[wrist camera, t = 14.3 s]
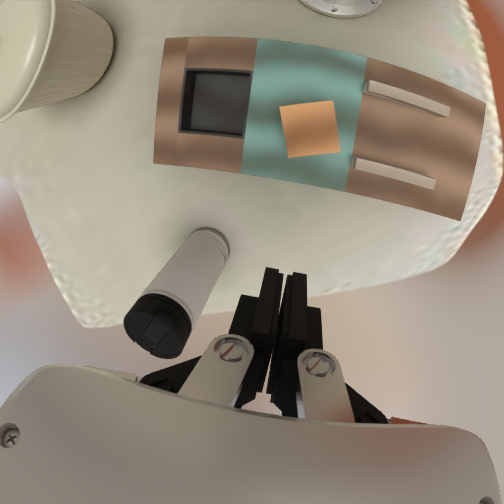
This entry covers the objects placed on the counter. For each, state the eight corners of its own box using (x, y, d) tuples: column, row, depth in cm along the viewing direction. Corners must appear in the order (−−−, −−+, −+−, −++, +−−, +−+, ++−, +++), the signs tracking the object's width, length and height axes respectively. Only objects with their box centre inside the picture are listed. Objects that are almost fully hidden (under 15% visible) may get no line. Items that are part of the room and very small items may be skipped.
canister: (82, -5, 27) (-14, -29, 8) (156, 24, 29) (50, -21, 10) (34, 86, 34) (-63, 100, 16) (95, 130, 37) (-19, 159, 18)
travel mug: (240, 244, 42) (196, 343, 24) (213, 274, 44) (163, 374, 27) (204, 216, 41) (135, 298, 23) (180, 248, 43) (111, 336, 26)
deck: (177, 44, 31) (154, 33, 24) (470, 103, 27) (498, 104, 21) (166, 158, 38) (141, 167, 31) (447, 211, 35) (470, 229, 28)
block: (282, 108, 29) (279, 106, 25) (327, 103, 28) (332, 100, 24) (289, 152, 31) (288, 157, 27) (334, 147, 30) (340, 152, 26)
